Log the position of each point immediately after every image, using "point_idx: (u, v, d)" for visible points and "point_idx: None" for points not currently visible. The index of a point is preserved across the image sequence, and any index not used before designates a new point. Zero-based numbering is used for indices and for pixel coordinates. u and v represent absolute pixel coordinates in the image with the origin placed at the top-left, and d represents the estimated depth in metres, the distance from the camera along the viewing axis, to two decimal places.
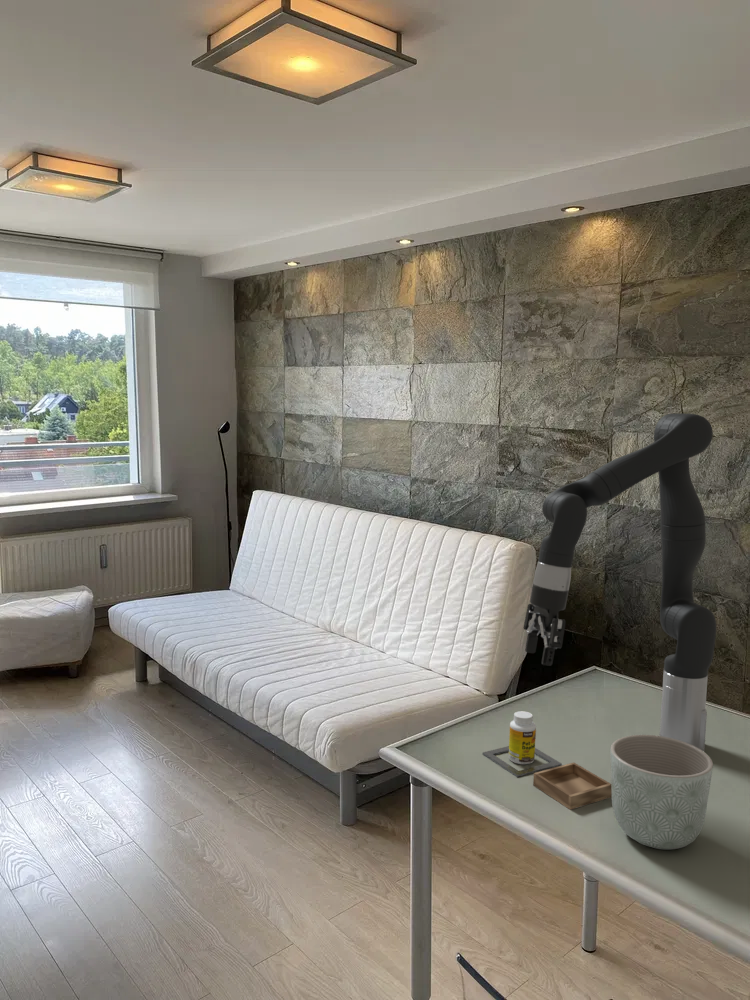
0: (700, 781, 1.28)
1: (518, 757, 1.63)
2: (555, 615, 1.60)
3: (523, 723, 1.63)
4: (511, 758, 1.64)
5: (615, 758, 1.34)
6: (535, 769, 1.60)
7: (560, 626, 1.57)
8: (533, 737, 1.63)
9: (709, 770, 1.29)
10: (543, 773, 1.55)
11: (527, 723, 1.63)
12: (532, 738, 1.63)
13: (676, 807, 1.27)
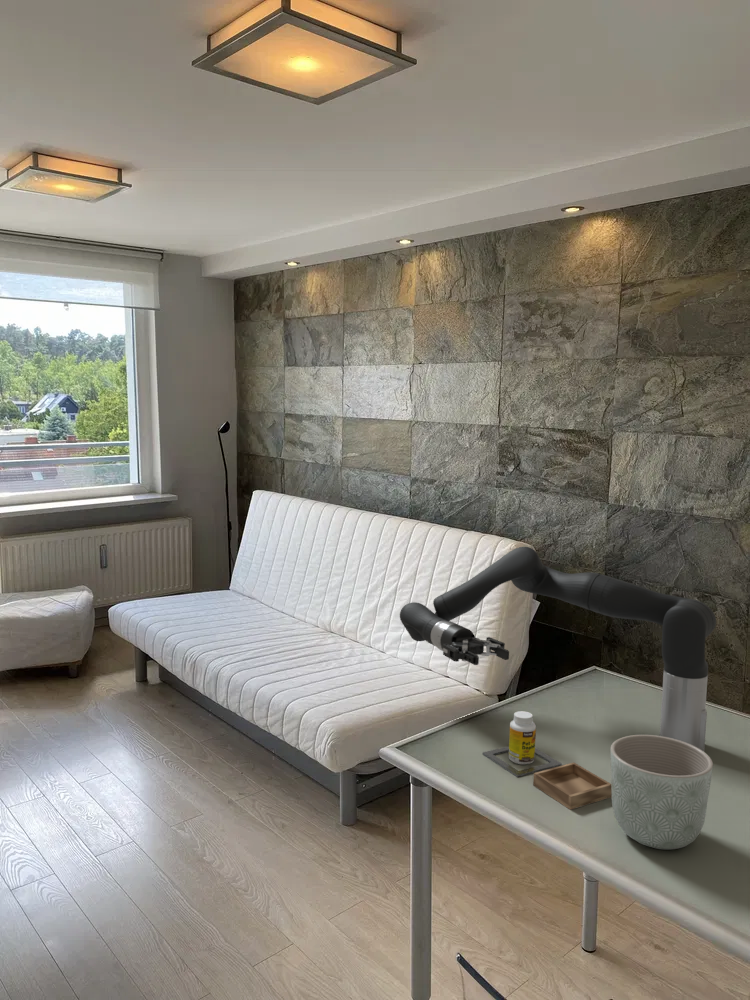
0: (700, 781, 1.28)
1: (518, 757, 1.63)
2: None
3: (523, 723, 1.63)
4: (511, 758, 1.64)
5: (615, 758, 1.34)
6: (535, 769, 1.60)
7: (445, 649, 1.78)
8: (533, 737, 1.63)
9: (709, 770, 1.29)
10: (543, 773, 1.55)
11: (527, 723, 1.63)
12: (532, 738, 1.63)
13: (676, 807, 1.27)
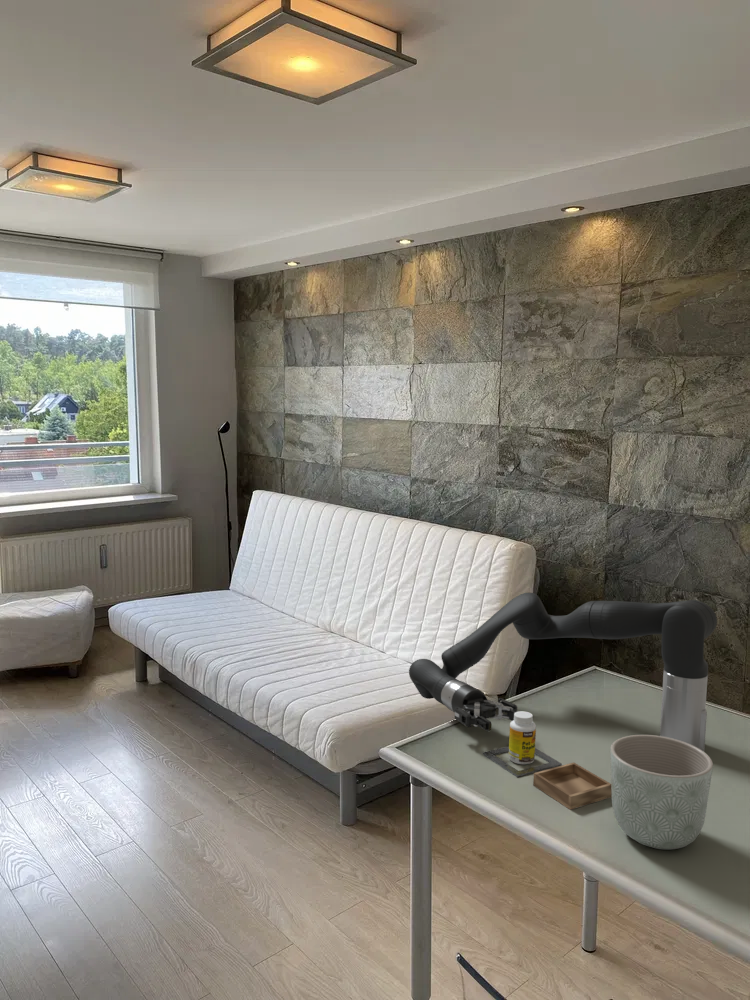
0: (700, 781, 1.28)
1: (518, 757, 1.63)
2: (464, 709, 1.78)
3: (523, 723, 1.63)
4: (511, 758, 1.64)
5: (615, 758, 1.34)
6: (535, 769, 1.60)
7: (456, 713, 1.75)
8: (533, 737, 1.63)
9: (709, 770, 1.29)
10: (543, 773, 1.55)
11: (527, 723, 1.63)
12: (532, 738, 1.63)
13: (676, 807, 1.27)
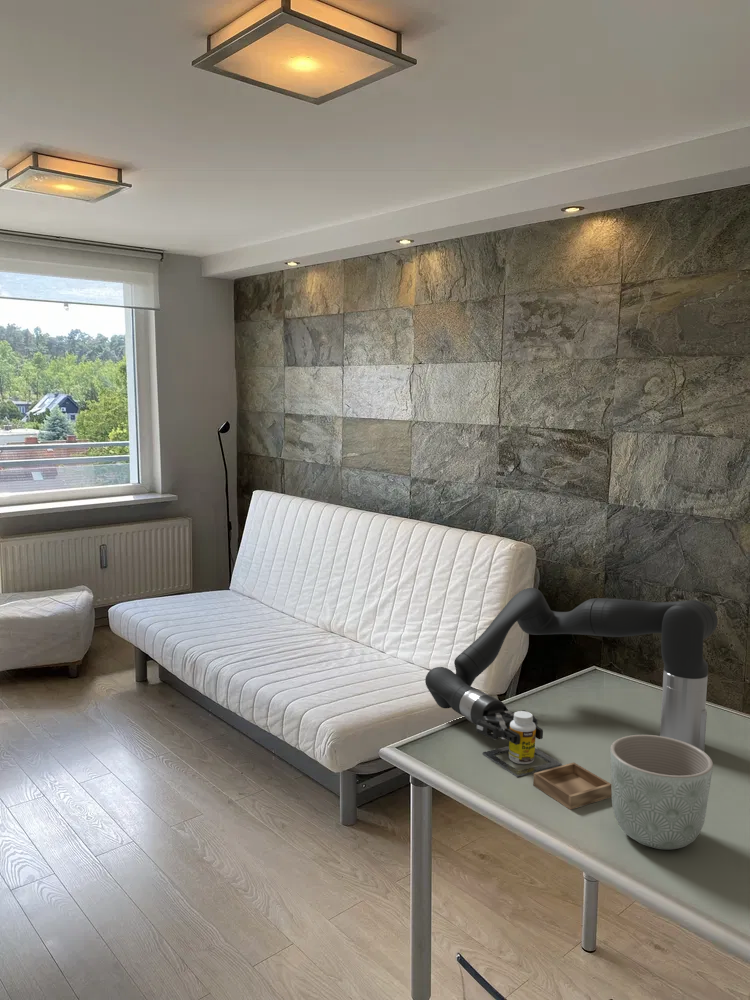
0: (700, 781, 1.28)
1: (518, 757, 1.63)
2: (484, 720, 1.71)
3: (523, 723, 1.63)
4: (511, 758, 1.64)
5: (615, 758, 1.34)
6: (535, 769, 1.60)
7: (480, 726, 1.67)
8: (533, 737, 1.63)
9: (709, 770, 1.29)
10: (543, 773, 1.55)
11: (527, 723, 1.63)
12: (532, 738, 1.63)
13: (676, 807, 1.27)
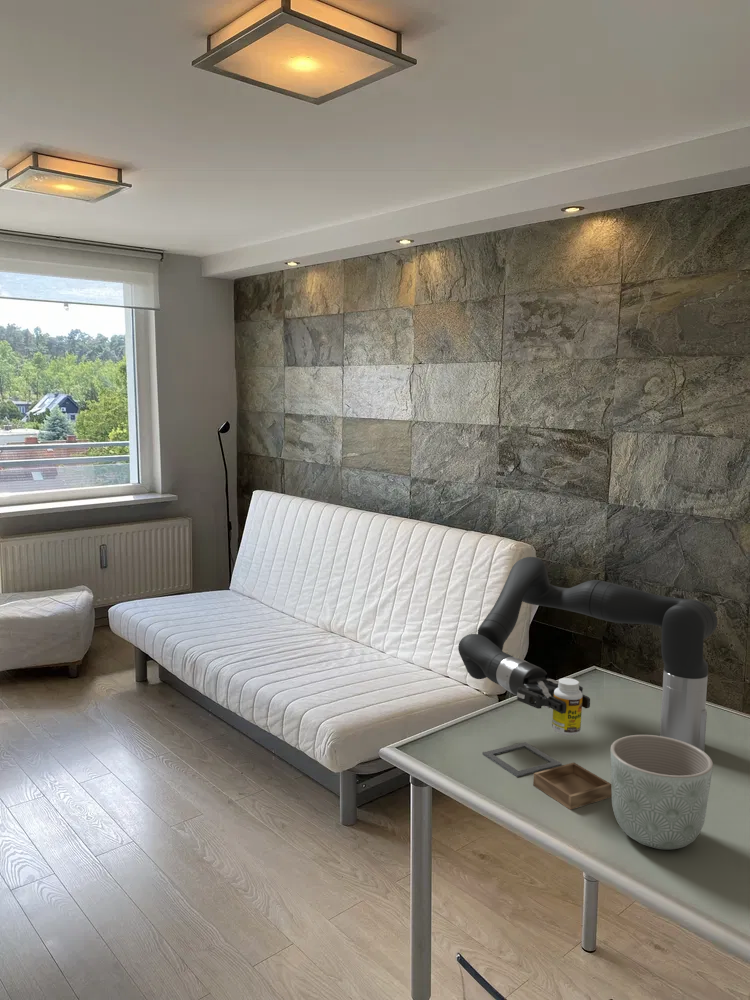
0: (700, 781, 1.28)
1: (564, 727, 1.50)
2: (524, 689, 1.58)
3: (569, 690, 1.50)
4: (555, 728, 1.52)
5: (615, 758, 1.34)
6: (535, 769, 1.60)
7: (521, 695, 1.55)
8: (580, 705, 1.50)
9: (709, 770, 1.29)
10: (543, 773, 1.55)
11: (573, 690, 1.50)
12: (579, 707, 1.50)
13: (676, 807, 1.27)
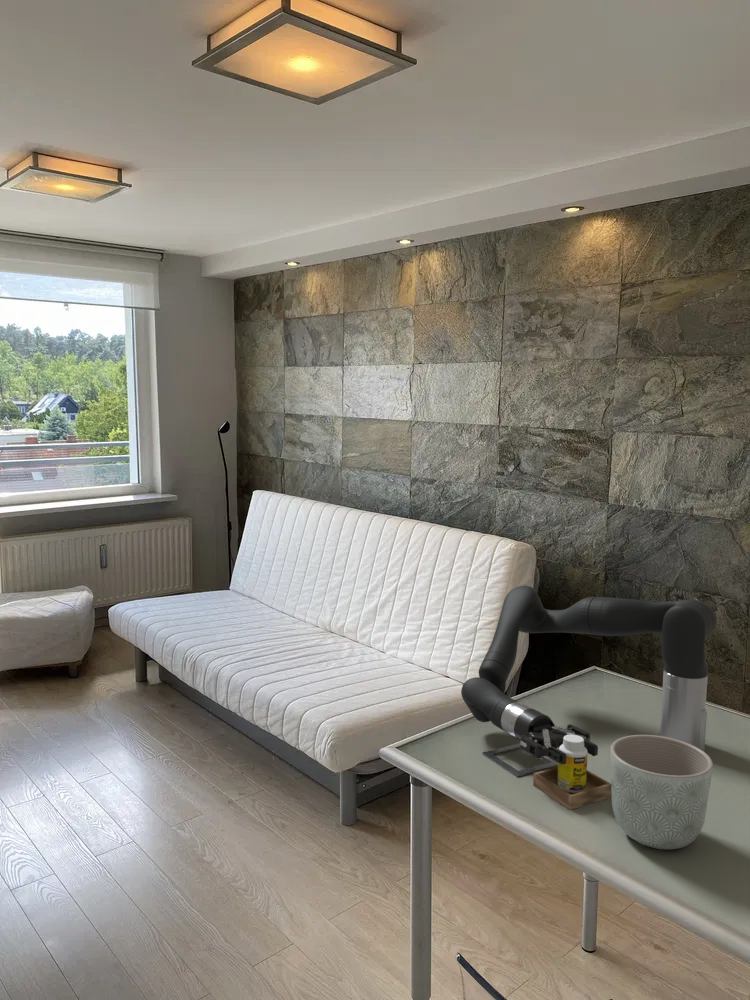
0: (700, 781, 1.28)
1: (569, 785, 1.50)
2: (530, 737, 1.57)
3: (574, 748, 1.49)
4: (561, 786, 1.51)
5: (615, 758, 1.34)
6: (535, 769, 1.60)
7: (523, 743, 1.54)
8: (585, 763, 1.50)
9: (709, 770, 1.29)
10: (543, 773, 1.55)
11: (578, 748, 1.50)
12: (584, 764, 1.50)
13: (676, 807, 1.27)
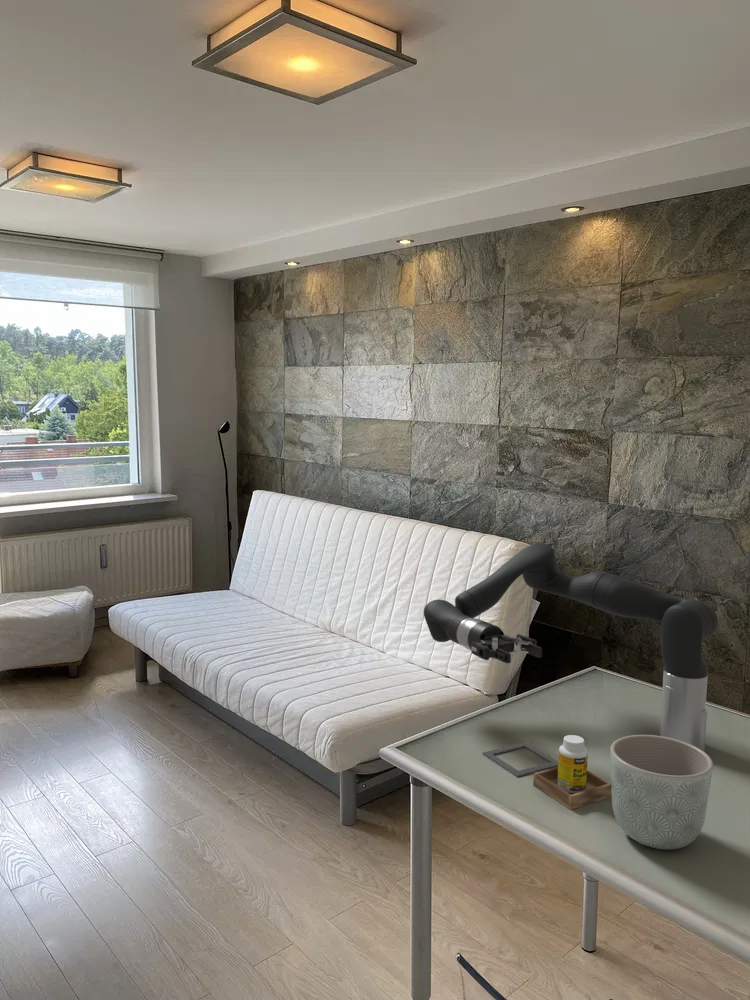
0: (700, 781, 1.28)
1: (569, 785, 1.50)
2: (481, 644, 1.71)
3: (574, 749, 1.49)
4: (561, 786, 1.51)
5: (615, 758, 1.34)
6: (535, 769, 1.60)
7: (474, 648, 1.68)
8: (585, 764, 1.50)
9: (709, 770, 1.29)
10: (543, 773, 1.55)
11: (579, 749, 1.49)
12: (584, 765, 1.49)
13: (676, 807, 1.27)
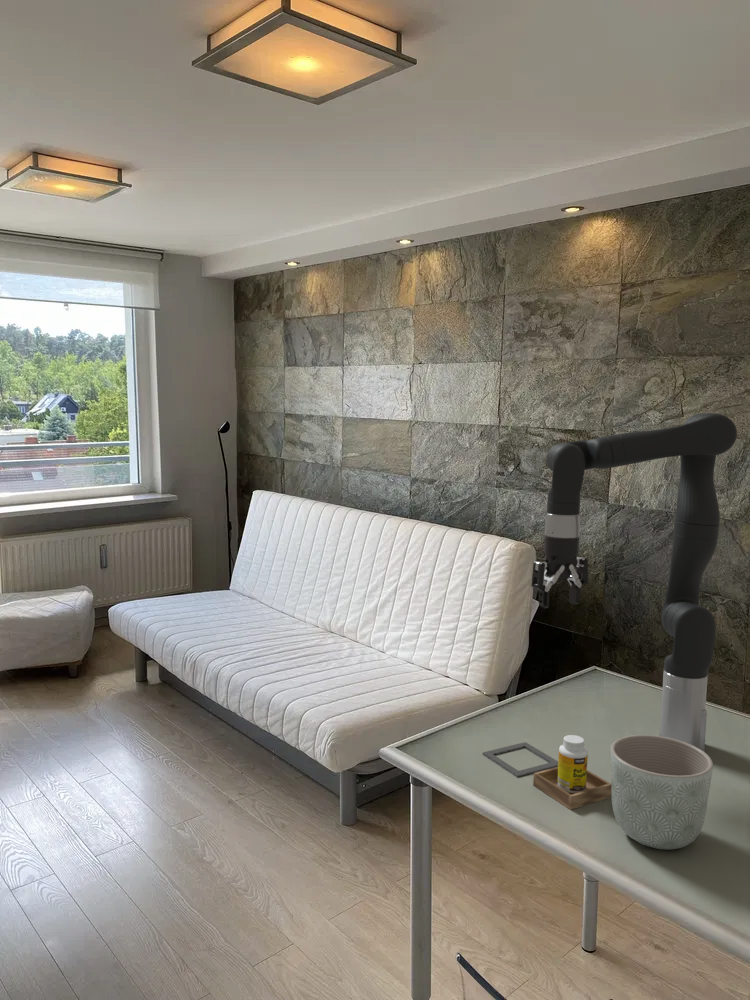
0: (700, 781, 1.28)
1: (569, 785, 1.50)
2: (548, 560, 1.68)
3: (574, 749, 1.49)
4: (561, 786, 1.51)
5: (615, 758, 1.34)
6: (535, 769, 1.60)
7: (537, 568, 1.67)
8: (585, 764, 1.50)
9: (709, 770, 1.29)
10: (543, 773, 1.55)
11: (579, 748, 1.49)
12: (584, 765, 1.49)
13: (676, 807, 1.27)
